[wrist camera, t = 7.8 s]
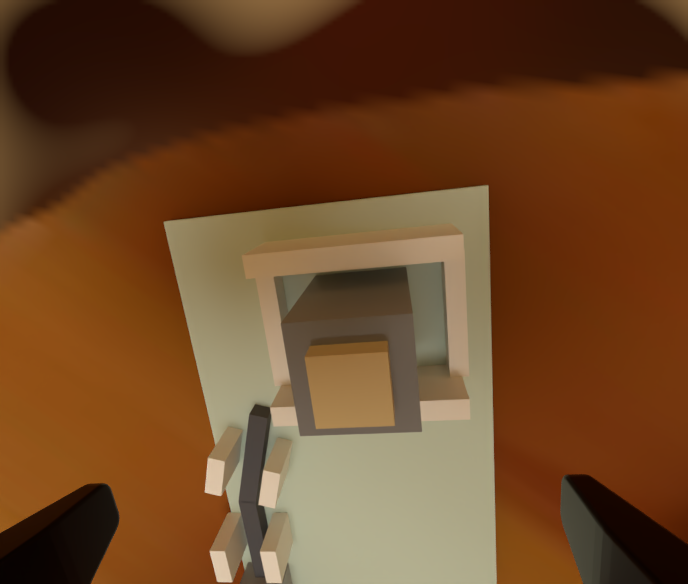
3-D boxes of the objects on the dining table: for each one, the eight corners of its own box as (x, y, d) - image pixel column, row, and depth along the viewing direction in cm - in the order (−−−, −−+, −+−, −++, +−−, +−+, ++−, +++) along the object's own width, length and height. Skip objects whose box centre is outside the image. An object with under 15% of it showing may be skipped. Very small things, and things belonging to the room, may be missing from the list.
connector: (405, 267, 18) (414, 323, 11) (413, 352, 19) (424, 448, 12) (315, 275, 18) (273, 333, 12) (327, 357, 19) (294, 452, 13)
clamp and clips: (289, 424, 21) (277, 455, 18) (320, 603, 24) (313, 649, 22) (207, 427, 21) (185, 458, 19) (248, 601, 24) (234, 645, 22)
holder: (458, 222, 17) (472, 232, 14) (465, 381, 19) (478, 419, 16) (258, 242, 18) (233, 256, 15) (284, 390, 20) (266, 426, 17)
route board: (485, 185, 17) (488, 185, 16) (494, 603, 23) (497, 614, 23) (170, 220, 19) (163, 222, 18) (256, 597, 25) (253, 607, 25)
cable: (271, 403, 20) (266, 413, 20) (301, 564, 23) (298, 579, 22) (225, 405, 21) (218, 415, 20) (260, 563, 24) (255, 578, 23)
